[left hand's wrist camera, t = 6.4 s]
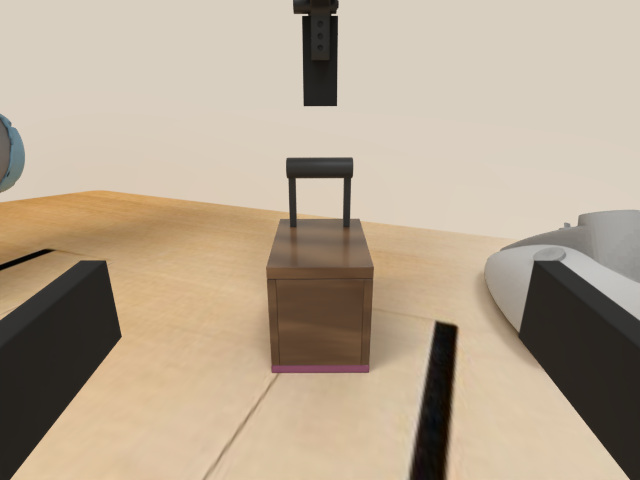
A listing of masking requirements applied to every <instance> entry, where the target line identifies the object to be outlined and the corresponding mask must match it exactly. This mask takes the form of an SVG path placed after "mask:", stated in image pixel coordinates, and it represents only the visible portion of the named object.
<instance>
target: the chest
mask: <svg viewBox="0 0 640 480" xmlns="http://www.w3.org/2000/svg"><path fill="white" fill-rule="evenodd" d="M267 288H268V307H269V325H270V343H271V361H272V373H311V372H369V355H370V334H371V313H372V293H373V279H267Z"/></svg>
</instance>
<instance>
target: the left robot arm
mask: <svg viewBox="0 0 640 480" xmlns="http://www.w3.org/2000/svg"><path fill="white" fill-rule="evenodd" d="M121 337H122V336H121V331H120V326H119V321H118V317H117V312H116V307H115V302H114V297H113V292H112V288H111V283H110V278H109V273H108V268H107V263H106V261H80V262H78V263H77V264H76V265H74V266H73V267H72V268H70V269H69V270H67V271H66V272H65V273H63V274H62V275H61V276H59V277H58V278H57V279H55V280H54V281H53V282H51V283H50V284H49V285H47V286H46V287H45V288H43V289H42V290H41V291H39V292H38V293H37V294H35V295H34V296H32V297H31V298H30V299H28V300H27V301H26V302H24V303H23V304H22V305H20V306H19V307H18V308H16V309H15V310H14V311H12V312H11V313H10V314H8V315H7V316H6V317H4V318H3V319H1V320H0V480H10V479H11V478H12V476H13V475H14V474H15V473H16V471H17V470H18V469H19V467H20V466H21V465H22V464H23V462H24V461H25V460H26V458H27V457H28V456H29V455H30V453H31V452H32V451H33V450H34V448H35V447H36V446H37V444H38V443H39V442H40V441H41V439H42V438H43V437H44V435H45V434H46V433H47V432H48V430H49V429H50V428H51V427H52V425H53V424H54V423H55V421H56V420H57V419H58V418H59V416H60V415H61V414H62V412H63V411H64V410H65V409H66V407H67V406H68V405H69V403H70V402H71V401H72V400H73V398H74V397H75V396H76V395H77V393H78V392H79V391H80V389H81V388H82V387H83V386H84V384H85V383H86V382H87V380H88V379H89V378H90V377H91V375H92V374H93V373H94V372H95V370H96V369H97V368H98V366H99V365H100V364H101V363H102V361H103V360H104V359H105V357H106V356H107V355H108V354H109V352H110V351H111V350H112V348H113V347H114V346H115V345H116V343H117V342H118V341H119V340H120V338H121ZM518 337H519V338H520V340H521V341H522V342H523V343H524V345H525V346H526V347H527V348H528V350H529V351H530V352H531V354H532V355H533V356H534V357H535V359H536V360H537V361H538V363H539V364H540V365H541V366H542V368H543V369H544V370H545V372H546V373H547V374H548V375H549V377H550V378H551V379H552V380H553V382H554V383H555V384H556V386H557V387H558V388H559V389H560V391H561V392H562V393H563V395H564V396H565V397H566V398H567V400H568V401H569V402H570V403H571V405H572V406H573V407H574V409H575V410H576V411H577V412H578V414H579V415H580V416H581V418H582V419H583V420H584V421H585V423H586V424H587V425H588V427H589V428H590V429H591V430H592V432H593V433H594V434H595V435H596V437H597V438H598V439H599V441H600V442H601V443H602V444H603V446H604V447H605V448H606V450H607V451H608V452H609V453H610V455H611V456H612V457H613V459H614V460H615V461H616V462H617V464H618V465H619V466H620V467H621V469H622V470H623V471H624V473H625V474H626V475H627V476H628V478H629V479H630V480H640V320H639V319H637V318H636V317H634V316H633V315H632V314H630V313H629V312H628V311H626V310H625V309H624V308H622V307H621V306H620V305H618V304H617V303H616V302H614V301H613V300H612V299H610V298H609V297H608V296H606V295H605V294H603V293H602V292H601V291H599V290H598V289H597V288H595V287H594V286H593V285H591V284H590V283H589V282H587V281H586V280H585V279H583V278H582V277H581V276H579V275H578V274H577V273H575V272H574V271H573V270H571V269H570V268H568V267H567V266H566V265H564V264H563V263H562V262H560V261H534V263H533V268H532V273H531V278H530V283H529V288H528V292H527V297H526V302H525V307H524V312H523V317H522V321H521V326H520V331H519V336H518Z"/></svg>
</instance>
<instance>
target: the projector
mask: <svg viewBox="0 0 640 480" xmlns="http://www.w3.org/2000/svg"><path fill="white" fill-rule="evenodd" d="M564 227H565V228H560V229H559V230H556V231H552V232H548V233H544V234H540V235H536V236H533V237H530V238H527V239H524V240H521V241H518V242H516V243H513V244H511V245H508V246H506V247H504V248H502V249H501V250H500V252H497V253H494V254H493V255H491V256H490V257H489V258H488V259H487V262H486V265H485V272H484V273H485V279H486V283H487V286H488V289H489V291H490V293H491V295H492V297H493V299H494V300H495V302H496V304H497V305H498V307H499V308H500V310H501V311H502V312H503V314H504V315H505V317H506V318H507V319H508V320H509V322H510V323H511V324H512V325H513V326H514V328H515V329H516V330H517V331H518V332H519V331H520V326H521V321H522V317H523V312H524V307H525V302H526V297H527V292H528V288H529V283H530V278H531V273H532V268H533V263H534V261H560V262H562V263H563V264H564V265H566V266H567V267H568V268H570V269H571V270H573V271H574V272H575V273H577V274H578V275H579V276H581V277H582V278H583V279H585V280H586V281H587V282H589V283H590V284H591V285H593V286H594V287H595V288H597V289H598V290H599V291H601V292H602V293H603V294H605V295H606V296H608V297H609V298H610V299H612V300H613V301H614V302H616V303H617V304H618V305H620V306H621V307H622V308H624V309H625V310H626V311H628V312H629V313H630V314H632V315H633V316H634V317H636V318H637V319H639V320H640V211H639V210H615V211H603V212H594V213H588V214H582V215H579V219H578V226H576V227H570V224H569V223H564Z"/></svg>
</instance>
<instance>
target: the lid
mask: <svg viewBox="0 0 640 480" xmlns="http://www.w3.org/2000/svg"><path fill="white" fill-rule="evenodd" d="M286 174H287V178H289V208H290V219H280V222H279V226H278V229H277V233H276V236H275V240H274V243H273V246H272V250H271V253H270V257H269V260H268V264H267V267H266V271H267V279H373V272H374V267H373V263H372V260H371V256H370V253H369V250H368V246H367V243H366V240H365V236H364V233H363V229H362V226H361V223H360V220H359V219H350V196H351V178H352V177H353V158H287V160H286ZM296 178H344V201H343V203H344V204H343V219H297V215H296Z"/></svg>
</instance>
